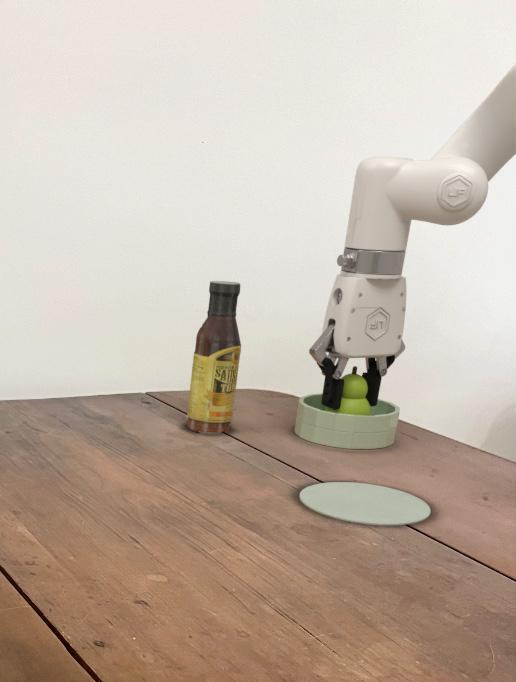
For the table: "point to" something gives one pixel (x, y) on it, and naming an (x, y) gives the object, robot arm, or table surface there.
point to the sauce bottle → (215, 362)
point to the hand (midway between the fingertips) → (349, 404)
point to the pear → (353, 396)
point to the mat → (364, 503)
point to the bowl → (346, 425)
